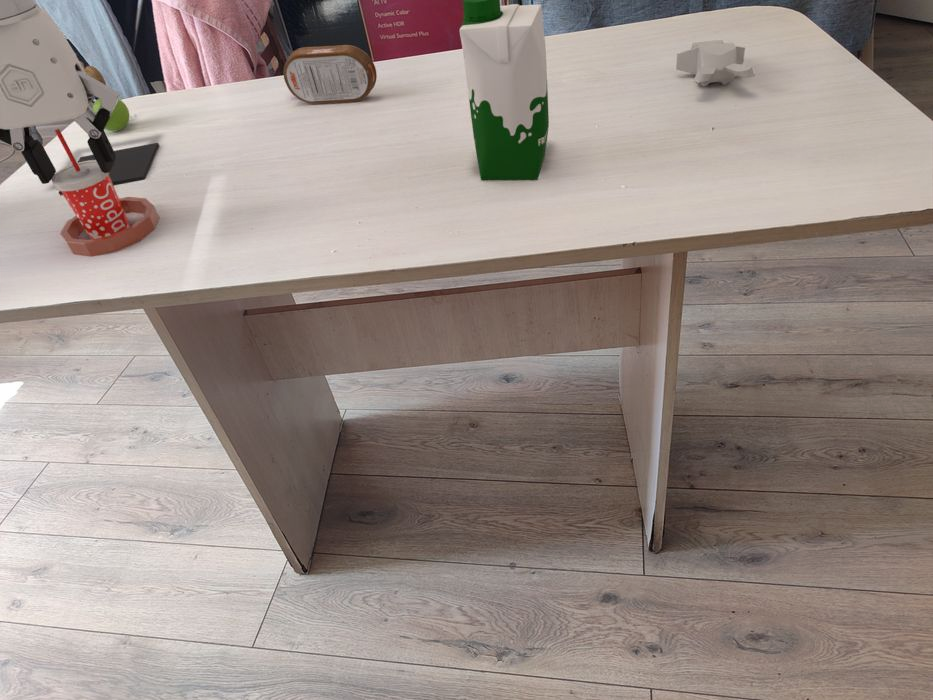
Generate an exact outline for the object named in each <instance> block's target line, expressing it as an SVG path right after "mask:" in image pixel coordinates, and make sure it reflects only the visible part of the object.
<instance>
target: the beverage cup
mask: <svg viewBox="0 0 933 700" xmlns="http://www.w3.org/2000/svg"><path fill="white" fill-rule="evenodd" d="M54 132H55V134H56V136H57V138H58V140H59V141H60V143H61V145H62V147H63V149H64V151H65V153H66V154H67V157H68V159H69V160H70V163H71V165H70V164H69V165H67V166H66V167H63V168H62V169H59V170H57V171H56V173H55V174H54V176H53V177H52V179H51V182H52V184H53V186H54V187H55V189H56V190H57V191H61V192H62V194H63V195H62V196H63V197H64V199H65V200H66V202H67V203H68V205H69V207H70V208H71V209H72V212H73V213H74V214H75V216H77V217H78V219H79V221H80V222H81V224H82V225H83V227H84V228H85V230H84V231H85V232H86V233H87V234H88V236H89V238H90V240H91V239H96V238H101V237H107V236H110V235H113V234H115V233H117V232H120V231H122V230H124V229H127V228H129V227H131V224H130V221H129V219H128V217H127V215H126V214H127V213H125V212H124V209H123V207H122V205H121V202H120V200H119V198H120V197H119V195H118V193H117V191H116V190H117V189H116V188H115V185H113V183H112V181H111V179H110V176H109V173H104V172H102V171H101V169H100V167H99V165H98V163H97V161H96V160H88V161H83V162H79V163H77V162H78V161H77V160H76V158H75V156H74V154H73V152H72V151H71V149H70V147H69V145H68V143H67V141H66V140H65V137H64V136H63V134H62V132H61V129H60V128H58V129H55V130H54Z"/></svg>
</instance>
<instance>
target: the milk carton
mask: <svg viewBox="0 0 933 700" xmlns="http://www.w3.org/2000/svg"><path fill="white" fill-rule="evenodd" d="M542 7H543V6H542V3H540V4H539V3H537V4H536V3H535V4H523V5H520V4H519V3H513V4H512V3H511V4H507V5H501V1H500V0H462V9H463V16H464V17H463V18H462V23H461V25H460V28H459V31H458V32H459V36H460V41H461V42H460V43H461V49H462V54H463V60H464V67H465V68H464V69H465V76H466V86H467V92H468V93H467V95H468V101H469V102H468V103H469V110H470V119H471V127H472V134H473V142H474V148H475V153H476V159H477V160H476V161H477V166H478V171H479V176H480V181H538V180H539V177H540V172H541V171H542V166H543V164H544V160H545V157H546V152H547V142H548V134H549V126H550V118H549V117H550V116H549V93H548V92H549V89H548V70H547V68H548V67H547V48H546V47H547V46H546V38H545V30H544V29H545V28H544V20H543V18H544V17H543V9H542Z"/></svg>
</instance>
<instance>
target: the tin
mask: <svg viewBox="0 0 933 700" xmlns="http://www.w3.org/2000/svg"><path fill="white" fill-rule="evenodd" d="M282 75H283V79H284V82H285V85H286V87H287V89H288V90H289V92H290V93H291V94H292V95H293V96H294V97H295V98H296V99H298V100H299V101H301V102H302V103H307V104H312V105H318V104H339V103H341V104H342V103H356V102H361V101H362V100H364V99H366V98H367V97H368V96H369V95H370V93H371V92H372V91H373V89H374V88H375V87H376V82H377V78H378V75H377V68H376V65H375V62H374V61H373V60H372V57H370V56H369V54H368V53H367V52H365V50H363V49H361V48H359V47H357V46H354V45H350V44H342V45H340V44H339V45H325V46H324V45H323V46H305V47H300V48H297V49H295V50H294V51H292V52H291V54H290V55H289V57H288V58H287V60H286V61H285V63H284V66H283V69H282Z"/></svg>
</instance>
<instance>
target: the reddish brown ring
mask: <svg viewBox="0 0 933 700" xmlns="http://www.w3.org/2000/svg"><path fill="white" fill-rule="evenodd" d="M118 198H119V200H120V202H121V205H122V207H123V209H124V212H125V214H128V213H129V214H130V213H137V214H143V216H142V217H141V218H140V219H138V220H137V221H136V222H134V223H133V224H132V225H130V227H129V228H127V229H124V230H122V231H120V232H117V233H115V234H113V235H110V236H107V237H101V238H96V239H91V238H90V239H81V238H79V236H80V234H82V233H83V232H85V231H86V230H85V228H84V227H83V225H82V224H81V222H80V221H79V219H78V217H77V216H76V215H74V216H73V217H71V218H70V219H68V220H67V221H66V222H65V224H64V226H63V228H61V231H60V233H59V234H60V237H61V238H62V240H63V241H64V243H65V245H66V246H67V248H68V249H69V250H70V251H71V253H72V255H75V256H83V257H91V258H92V257H97V256H103V255H108V254H112V253H113V254H114V253H116V252H120V251H121V250H124V249H127V248H129V247H130V246H133V245H135V244H137V243H140V242H141V241H143V240H144V239H145V238H146V237H147V236H149V235H150V234H151V233H152V232H153V231H155V230H156V228H157V227H158V226H157V225H158V223H159V220H160V216H159V214H158V212H157V210H156V207H155V205H154V204H153V203H151V201H150V200H148V198H146V197H137V196H125V197H118Z"/></svg>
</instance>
